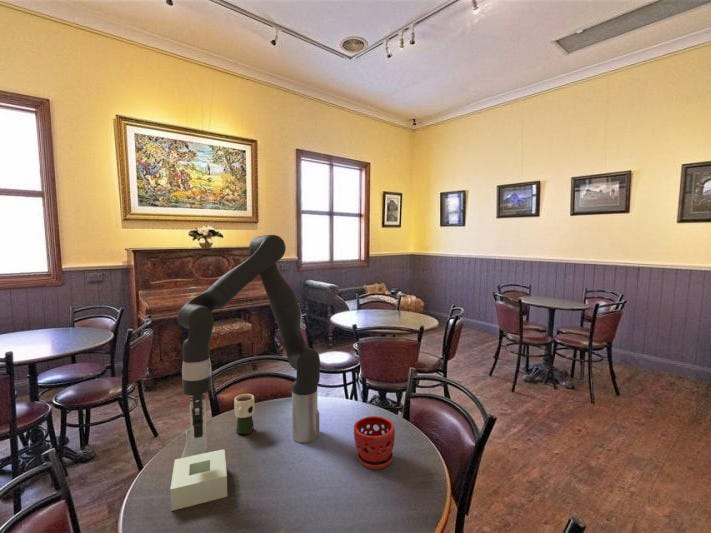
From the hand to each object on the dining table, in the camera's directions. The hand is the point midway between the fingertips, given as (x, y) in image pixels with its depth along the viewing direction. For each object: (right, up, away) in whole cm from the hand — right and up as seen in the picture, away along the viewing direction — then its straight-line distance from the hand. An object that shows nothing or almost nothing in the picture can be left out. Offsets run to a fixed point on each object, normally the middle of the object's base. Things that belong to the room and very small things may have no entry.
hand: (198, 432), depth 102 cm
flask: (-8, -16, +14) cm, 22 cm away
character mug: (+4, -15, +32) cm, 35 cm away
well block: (0, -16, +1) cm, 16 cm away
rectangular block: (0, -5, 0) cm, 5 cm away
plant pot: (+51, -16, +14) cm, 55 cm away
